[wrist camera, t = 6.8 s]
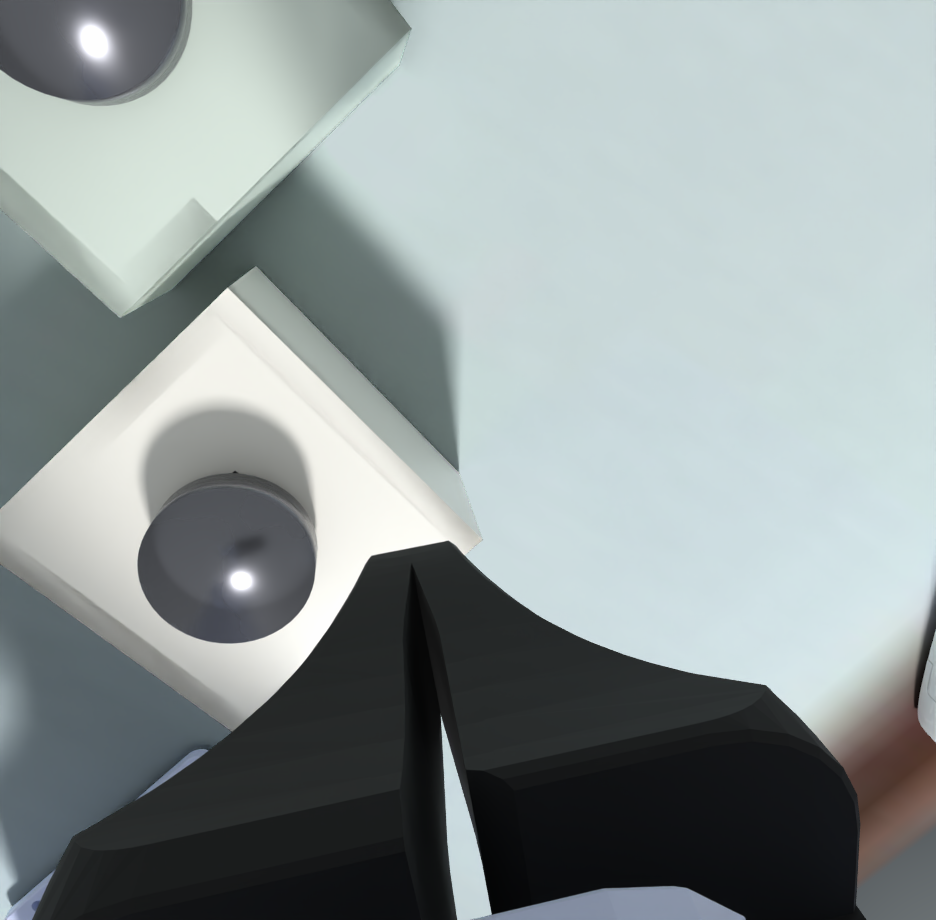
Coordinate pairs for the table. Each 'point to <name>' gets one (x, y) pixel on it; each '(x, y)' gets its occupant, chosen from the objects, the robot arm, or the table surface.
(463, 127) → the table surface
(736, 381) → the table surface
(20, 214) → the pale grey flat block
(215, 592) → the plunger
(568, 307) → the table surface
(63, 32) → the plunger
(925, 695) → the white rounded slab
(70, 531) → the white square block
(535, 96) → the table surface
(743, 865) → the robot arm
